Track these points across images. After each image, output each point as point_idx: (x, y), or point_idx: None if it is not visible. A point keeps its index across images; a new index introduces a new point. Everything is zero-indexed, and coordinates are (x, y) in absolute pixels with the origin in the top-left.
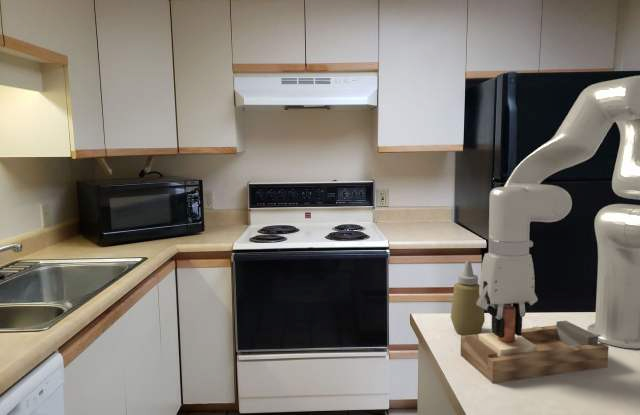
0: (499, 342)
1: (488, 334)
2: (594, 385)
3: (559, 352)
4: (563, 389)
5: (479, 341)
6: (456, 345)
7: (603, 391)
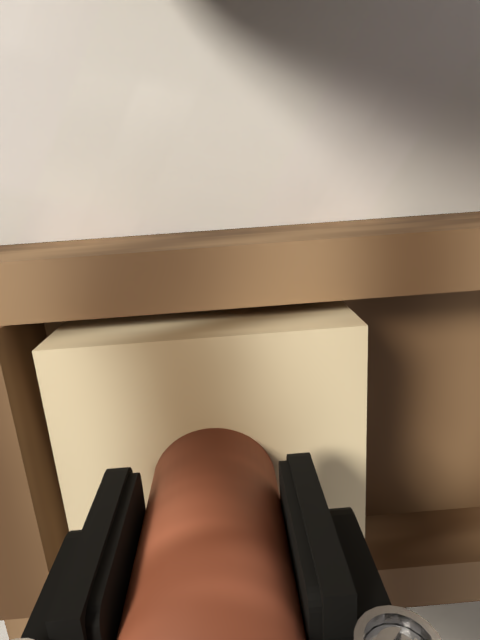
0: None
1: (117, 376)
2: (477, 601)
3: (466, 601)
4: None
5: (7, 443)
6: (13, 86)
7: (471, 636)
